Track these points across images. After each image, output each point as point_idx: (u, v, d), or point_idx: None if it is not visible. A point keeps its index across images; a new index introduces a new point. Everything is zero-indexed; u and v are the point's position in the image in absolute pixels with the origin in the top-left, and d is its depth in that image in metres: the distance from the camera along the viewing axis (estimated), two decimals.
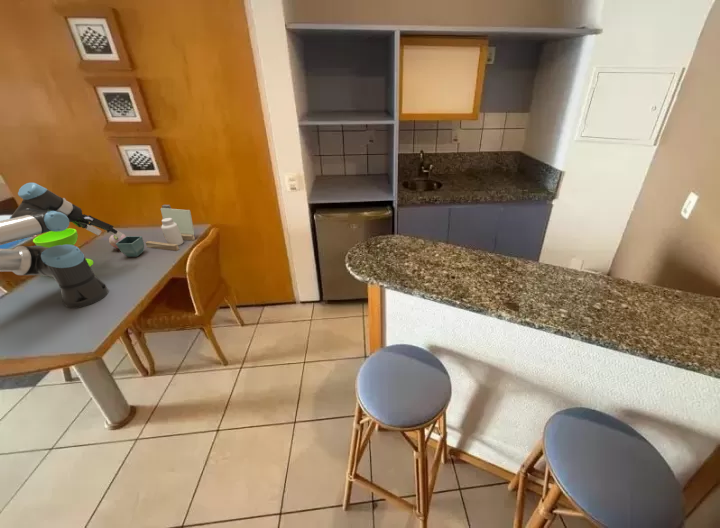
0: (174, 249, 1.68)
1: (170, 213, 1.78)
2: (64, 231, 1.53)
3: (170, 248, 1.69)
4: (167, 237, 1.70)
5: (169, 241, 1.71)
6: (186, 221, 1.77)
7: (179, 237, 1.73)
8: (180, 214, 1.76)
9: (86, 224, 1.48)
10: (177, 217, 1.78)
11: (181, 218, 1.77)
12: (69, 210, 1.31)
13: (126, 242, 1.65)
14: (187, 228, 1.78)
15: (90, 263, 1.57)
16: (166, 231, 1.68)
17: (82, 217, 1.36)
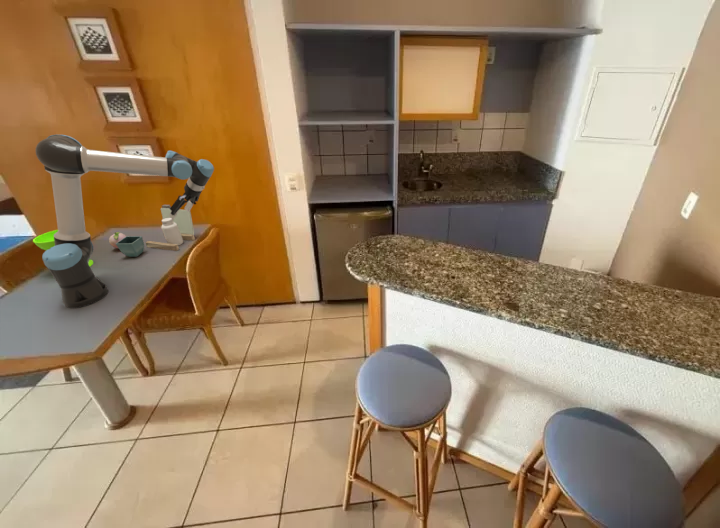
0: (174, 249, 1.68)
1: None
2: None
3: (170, 248, 1.69)
4: (167, 237, 1.70)
5: (169, 241, 1.71)
6: (186, 221, 1.77)
7: (179, 237, 1.73)
8: (180, 214, 1.76)
9: (192, 202, 1.65)
10: (177, 217, 1.78)
11: (181, 218, 1.77)
12: (189, 186, 1.48)
13: (126, 242, 1.65)
14: (187, 228, 1.78)
15: (90, 263, 1.57)
16: (166, 231, 1.68)
17: (185, 194, 1.51)
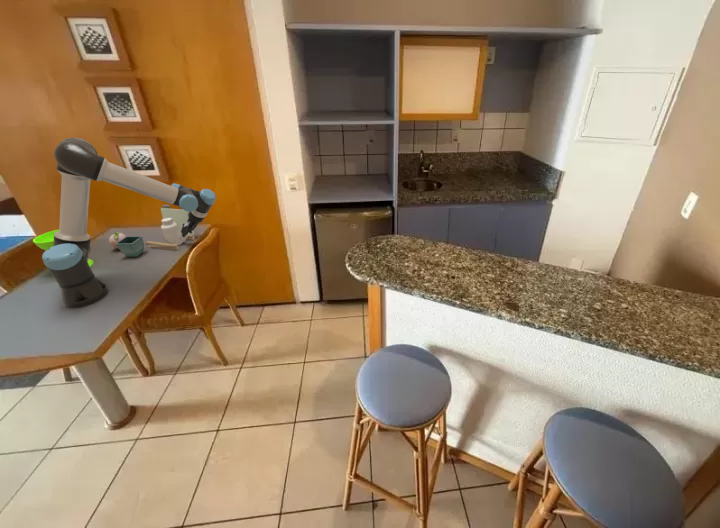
0: (174, 249, 1.68)
1: (170, 213, 1.78)
2: None
3: (170, 248, 1.69)
4: (167, 237, 1.70)
5: (169, 241, 1.71)
6: (186, 221, 1.77)
7: (179, 237, 1.73)
8: (180, 214, 1.76)
9: (189, 231, 1.71)
10: (177, 217, 1.78)
11: (181, 218, 1.77)
12: (193, 213, 1.58)
13: (126, 242, 1.65)
14: None
15: (90, 263, 1.57)
16: (166, 231, 1.68)
17: (189, 220, 1.61)
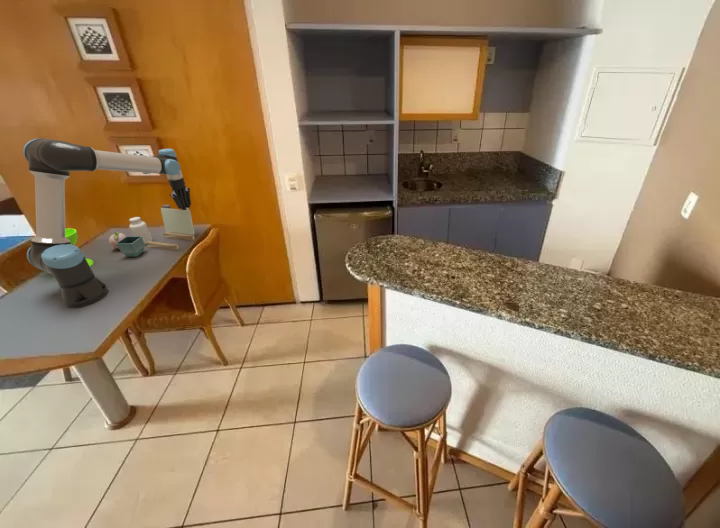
0: (174, 249, 1.68)
1: (170, 213, 1.78)
2: None
3: (170, 248, 1.69)
4: None
5: None
6: (186, 221, 1.77)
7: (149, 235, 1.77)
8: (180, 214, 1.76)
9: (186, 205, 1.78)
10: (177, 217, 1.78)
11: (181, 218, 1.77)
12: (169, 178, 1.66)
13: (126, 242, 1.65)
14: (187, 228, 1.78)
15: (90, 263, 1.57)
16: (136, 230, 1.71)
17: (172, 188, 1.69)
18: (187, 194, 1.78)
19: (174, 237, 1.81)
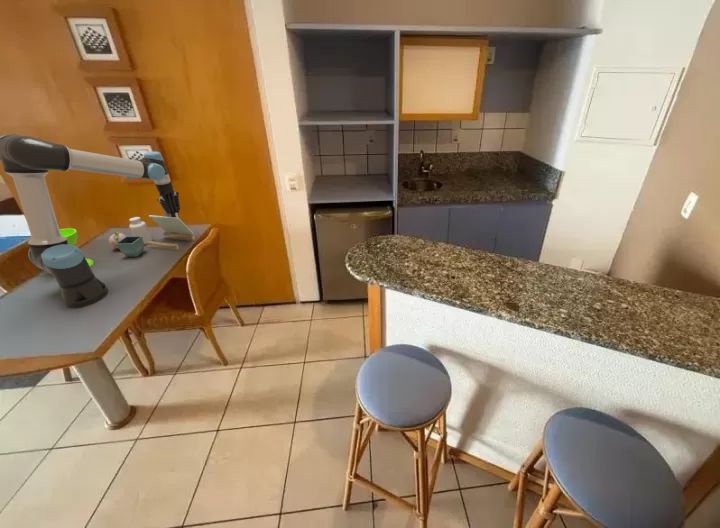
0: (174, 249, 1.68)
1: (161, 220, 1.72)
2: (64, 231, 1.53)
3: (170, 248, 1.69)
4: None
5: None
6: (180, 225, 1.73)
7: (149, 235, 1.77)
8: (171, 221, 1.71)
9: (175, 210, 1.71)
10: (170, 223, 1.73)
11: (174, 223, 1.73)
12: (156, 182, 1.59)
13: (126, 242, 1.65)
14: (185, 230, 1.77)
15: (90, 263, 1.57)
16: (136, 230, 1.71)
17: (160, 193, 1.62)
18: (176, 199, 1.71)
19: (174, 237, 1.81)
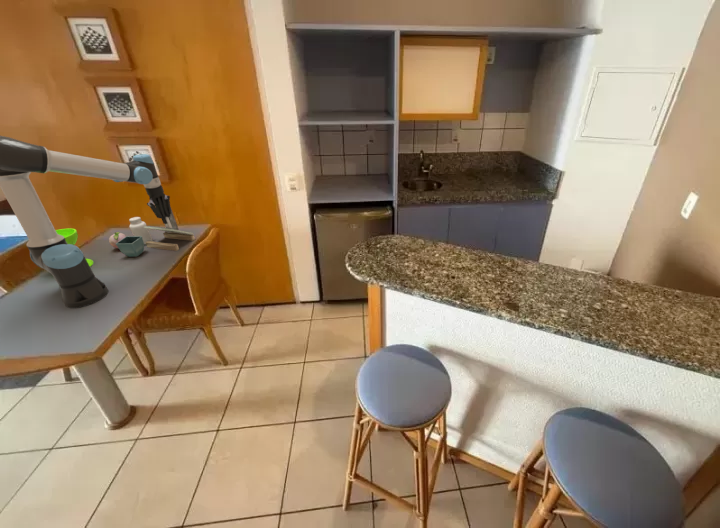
0: (174, 249, 1.68)
1: (157, 229, 1.71)
2: (64, 231, 1.53)
3: (170, 248, 1.69)
4: None
5: None
6: None
7: (149, 235, 1.77)
8: (167, 230, 1.69)
9: (166, 215, 1.66)
10: None
11: (171, 231, 1.72)
12: (145, 186, 1.54)
13: (126, 242, 1.65)
14: (184, 233, 1.76)
15: (90, 263, 1.57)
16: (136, 230, 1.71)
17: (150, 197, 1.57)
18: (167, 202, 1.66)
19: (174, 237, 1.81)
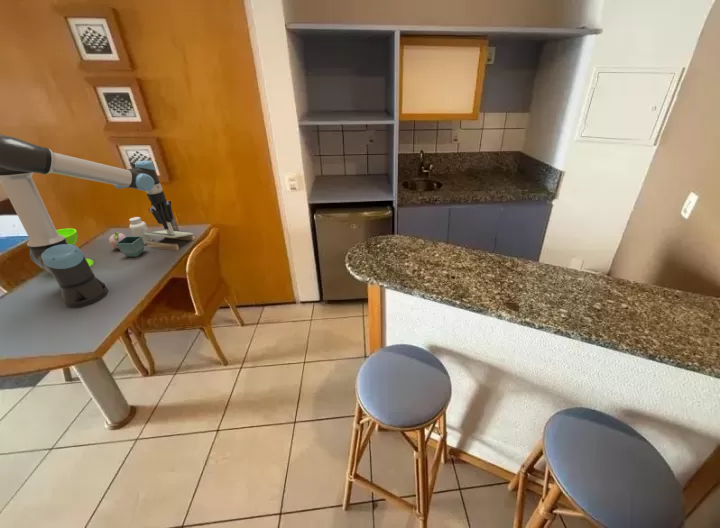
0: (174, 249, 1.68)
1: None
2: (64, 231, 1.53)
3: (170, 248, 1.69)
4: None
5: None
6: None
7: (149, 235, 1.77)
8: None
9: (168, 220, 1.67)
10: None
11: None
12: (147, 192, 1.55)
13: (126, 242, 1.65)
14: None
15: (90, 263, 1.57)
16: (136, 230, 1.71)
17: (151, 202, 1.58)
18: (168, 208, 1.67)
19: None
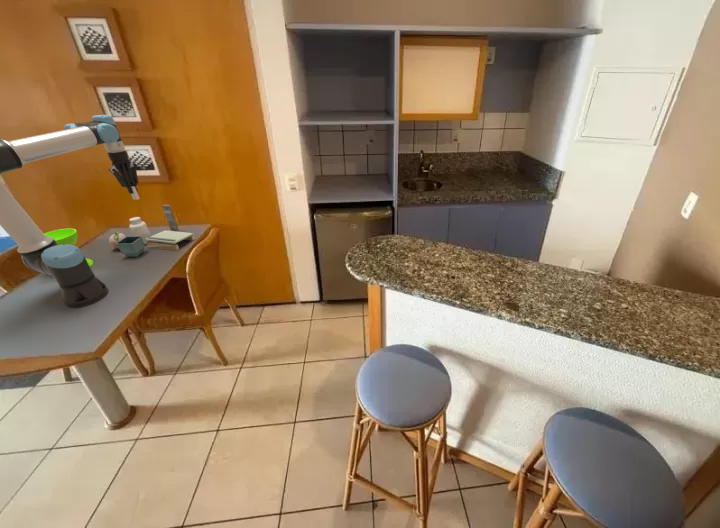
0: (174, 249, 1.68)
1: None
2: (64, 231, 1.53)
3: (170, 248, 1.69)
4: None
5: None
6: None
7: (149, 235, 1.77)
8: None
9: (132, 184, 1.54)
10: None
11: None
12: (107, 150, 1.42)
13: (126, 242, 1.65)
14: None
15: (90, 263, 1.57)
16: (136, 230, 1.71)
17: (112, 162, 1.45)
18: (133, 170, 1.54)
19: None
